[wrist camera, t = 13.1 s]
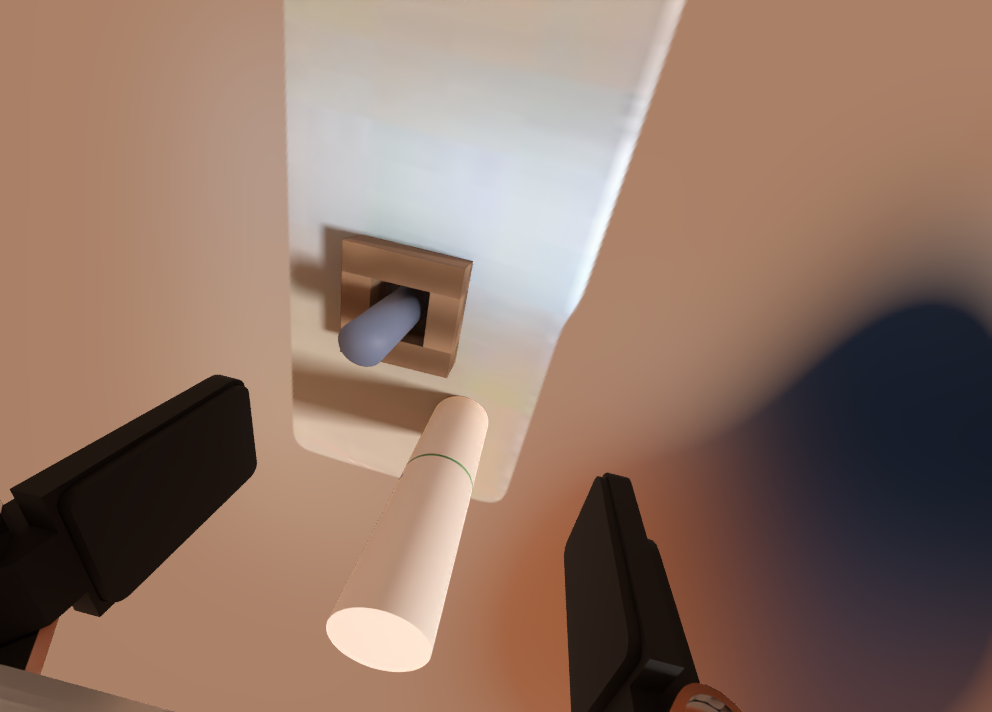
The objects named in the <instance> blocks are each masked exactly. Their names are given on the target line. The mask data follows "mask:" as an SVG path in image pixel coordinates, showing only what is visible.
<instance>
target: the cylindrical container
mask: <svg viewBox="0 0 992 712" xmlns="http://www.w3.org/2000/svg"><path fill="white" fill-rule="evenodd" d="M487 428H488V417H487V414H486V412H485V410H484V409H483V408H482V407H481V406H480V405H479V404H478V403H477V402H475V401H474V400H472V399H469V398H467V397H462V396H453V397H449V398H446V399H444V400H442V401H441V402H440V403H439V404H438V405H437V406H436V408H435V410H434V412H433V414H432V416H431V418H430V420H429V422H428V424H427V426H426V427H425V429H424V431H423V433H422V435H421V437H420V439H419V441H418V443H417V445H416V447H415V449H414V451H413V453H412V455H411V457H410V459H409V461H408V463H407V465H406V467H405V469H404V471H403V473H402V475H401V477H400V479H399V481H398V483H397V485H396V487H395V489H394V491H393V493H392V495H391V497H390V499H389V500H388V502H387V505H386V506H385V509H384V510H383V512H382V514H381V517H380V518H379V520H378V522H377V524H376V526H375V528H374V530H373V532H372V534H371V536H370V538H369V540H368V542H367V544H366V546H365V548H364V550H363V552H362V554H361V556H360V558H359V560H358V562H357V564H356V566H355V568H354V570H353V572H352V574H351V576H350V578H349V579H348V581H347V583H346V586H345V587H344V589H343V591H342V593H341V595H340V597H339V599H338V601H337V603H336V605H335V607H334V609H333V611H332V613H331V615H330V617H329V619H328V621H327V624H326V630H327V634H328V637H329V639H330V640H331V641H332V643H333V644H334V645H335V646H336V647H337V648H338V649H339V650H340V651H341V652H342V653H344V654H345V655H346V656H348V657H350V658H351V659H353V660H354V661H357V662H359V663H361V664H363V665H366V666H368V667H371V668H375V669H379V670H384V671H390V672H406V671H412V670H416V669H419V668H421V667H423V666H424V665H425V664H426V663H427V662H428V661H429V660H430V658H431V654H432V650H433V646H434V642H435V638H436V634H437V630H438V626H439V622H440V618H441V614H442V610H443V606H444V602H445V598H446V594H447V590H448V585H449V582H450V577H451V574H452V569H453V566H454V562H455V557H456V553H457V549H458V545H459V541H460V537H461V533H462V529H463V525H464V521H465V517H466V513H467V509H468V505H469V501H470V497H471V493H472V489H473V484H474V480H475V476H476V472H477V468H478V464H479V460H480V456H481V452H482V448H483V444H484V440H485V436H486V432H487Z"/></svg>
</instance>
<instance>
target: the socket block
mask: <svg viewBox="0 0 992 712" xmlns="http://www.w3.org/2000/svg"><path fill="white" fill-rule="evenodd" d="M472 265H473V261H469V260H465V259H460V258H456V257H452V256H448V255H444V254H440V253H435V252H431V251H427V250H423V249H419V248H415V247H410V246H406V245H402V244H398V243H394V242H389V241H385V240H381V239H377V238H373V237H369V236H364V235H359V236H355V237H351V238H347V239H343V240H342V282H341V329H342V328H343V326H345V325H346V324H347V323H349V322H350V321H352V320H353V319H355V318H356V317H358V316H359V315H360V314H362V313H363V312H365V311H366V310H368V309H369V308H370V307H372V306H373V305H375V304H376V303H378V302H379V301H381V300H382V299H383V298H385V294H386V282H390V283H394V284H398V285H402V286H406V287H410V288H414V289H419V290H423V291H427V292H430V298H429V306H428V314H427V321H426V329H425V331H423V330H419V329H415V328H412V329H411V330H410V331H409V332H408V333H407V334H406V335H405V336H404V337H403V338H402V339H401V340H400V341H399V342H398V344H397V345H396V346H395V347H394V348H393V349H392V350H391V351H390V352H389V353H388V354H387V355H386V356H385V357H384V358H383V360H382V361H381V362H384V363H388V364H392V365H396V366H400V367H404V368H408V369H412V370H416V371H420V372H424V373H428V374H432V375H436V376H440V377H444V378H447V377H448V375H449V373H450V371H451V369H452V367H453V365H454V363H455V360H456V354H457V349H458V343H459V338H460V332H461V326H462V321H463V315H464V310H465V304H466V298H467V293H468V287H469V281H470V276H471V270H472ZM340 352H342V351H341V349H340Z"/></svg>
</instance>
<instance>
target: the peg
mask: <svg viewBox="0 0 992 712" xmlns="http://www.w3.org/2000/svg"><path fill="white" fill-rule="evenodd" d="M428 306H429V302H428V298H427V296H426V294H425V292H424V291H423V290H419V289H414V288H410V287H406V286H401V287H399V288H398V289H396V290H395V291H394V292H392V293H391V294H389V295H388V296H386V297H385V298H383V299H382V300H381V301H379V302H378V303H376V304H375V305H373V306H372V307H370V308H369V309H368V310H366V311H365V312H363V313H362V314H360V315H359V316H358V317H356V318H355V319H353V320H352V321H350V322H349V323H347V324H346V325H345V326H343V328H342V329H341V330H340V333H339V336H338V342H339V346H340V349H341V351H342V353H343V354H344V355H345V357H346V358H347V359H349V360H350V361H351V362H353V363H355V364H357V365H359V366H364V367H370V366H374V365H376V364H378V363H380V362H381V361H382V360H383V358H384V357H385V356H386V355H387V354H388V353H389V352H390V351H391V350H392V349H393V348H394V347H395V346H396V345H397V344H398V342H399V341H400V340H401V339H402V338H403V337H404V336H405V335H406V334H407V333H408V332H409V331H410V330H411V329H412V328H413V327H414V325H415V324H416V323H417V322H418V321H419V320H420V319H421V318H422V317H423V316H424V315H425V314H426V312H427V310H428Z"/></svg>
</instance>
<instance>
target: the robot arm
mask: <svg viewBox="0 0 992 712" xmlns="http://www.w3.org/2000/svg"><path fill="white" fill-rule="evenodd" d="M256 466H257V460H256V451H255V443H254V435H253V425H252V417H251V408H250V399H249V391H248V389H247V388H246V387H245V386H244V383H243V382H242V381H241V380H238V379H234V378H230V377H227V376H223V375H213V376H211V377H209V378H207V379H205V380H204V381H202V382H200V383H198V384H196V385H195V386H193V387H191V388H189V389H188V390H186V391H184V392H182V393H180V394H179V395H177V396H176V397H173V398H171V399H170V400H168V401H166V402H164V403H163V404H161V405H159V406H157V407H155V408H154V409H152V410H150V411H148V412H147V413H145V414H143V415H141V416H139V417H138V418H136V419H134V420H132V421H130V422H129V423H127V424H125V425H123V426H121V427H120V428H118V429H116V430H114V431H113V432H111V433H109V434H107V435H105V436H104V437H102V438H100V439H98V440H96V441H95V442H93V443H91V444H89V445H88V446H86V447H84V448H82V449H80V450H79V451H77V452H75V453H73V454H72V455H70V456H68V457H66V458H64V459H63V460H61V461H59V462H57V463H56V464H54V465H52V466H50V467H48V468H46V469H45V470H43V471H41V472H39V473H38V474H36V475H34V476H32V477H30V478H29V479H27V480H25V481H23V482H22V483H20V484H18V485H16V486H14V487H13V488H11V489H10V491H11V493H12V494H13V496H14V498H15V499H13V500H11V501H10V502H8V503H6V504H4V505H3V504H2V502H1V500H0V712H174V711H170V710H167V709H163V708H159V707H156V706H152V705H148V704H145V703H141V702H138V701H134V700H130V699H126V698H123V697H119V696H116V695H112V694H108V693H104V692H101V691H97V690H93V689H89V688H86V687H82V686H79V685H75V684H71V683H67V682H64V681H60V680H57V679H53V678H49V677H46V676H42V675H40V674H41V671H42V668H43V665H44V661H45V659H46V656H47V653H48V650H49V647H50V644H51V641H52V637H53V635H54V631H55V629H56V625H57V622H58V619H59V617H60V616H61V615H62V614H63V613H64V612H65V611H67V610H68V609H69V608H70V607H71V606H73V607H74V610H76V611H79V612H83V613H87V614H90V615H94V616H98V617H100V616H102V615H103V614H104V613H105V612H106V611H107V610H108V609H109V608H110V607H111V606H112V605H113V604H114V603H115V602H119V601H122V600H123V599H125V598H126V597H128V596H129V595H130V594H131V593H132V592H133V591H134V590H135V589H136V588H137V587H138V586H139V585H140V584H142V582H144V581H145V580H146V579H147V578H148V577H149V576H150V575H151V574H152V573H153V572H154V571H155V570H156V569H157V568H158V567H159V566H160V565H161V564H162V563H163V562H164V561H165V560H166V559H167V558H168V557H169V556H170V555H171V554H172V553H173V552H174V551H175V550H176V549H177V548H178V547H179V546H180V545H181V544H183V543H184V541H186V539H188V538H189V537H190V536H191V535H192V534H193V533H194V532H195V531H196V530H197V529H198V528H199V527H200V526H201V525H202V524H203V523H204V522H205V521H206V520H207V519H208V518H209V517H210V516H211V515H212V514H213V513H214V512H215V511H216V510H217V509H218V508H219V507H220V506H222V505H223V503H225V502H226V501H227V500H228V499H229V498H230V497H231V496H232V495H233V494H234V493H235V492H236V491H237V490H238V489H239V488H240V487H241V486H242V485H243V484H244V483H245V482H246V481H247V480H248V479H249V478H250V477H251V476H252V475H253V473H254V471H255V469H256ZM564 566H565V567H564V568H565V587H566V588H565V589H566V610H567V632H568V652H569V673H570V696H571V712H742V711H741V710H740V708H739V707H738V706H737V705H736V704H735V703H734V702H733V701H732V700H730V699H729V698H728V697H727V696H726V695H724V694H723V693H722V692H720V691H718V690H717V689H715V688H713V687H711V686H709V685H706V684H700V682H699V679H698V676H697V672H696V669H695V666H694V662H693V659H692V656H691V653H690V649H689V646H688V643H687V640H686V637H685V633H684V630H683V627H682V624H681V621H680V617H679V614H678V611H677V608H676V604H675V601H674V598H673V595H672V591H671V588H670V585H669V582H668V579H667V575H666V572H665V569H664V566H663V562H662V559H661V556H660V553H659V550H658V548H657V545H656V544H655V543H654V542H653V540H650V539H647V536H646V532H645V529H644V526H643V522H642V518H641V515H640V511H639V508H638V504H637V501H636V498H635V494H634V491H633V487H632V484H631V481H630V479H629V478H627V477H623V476H619V475H615V474H611V473H605V474H604V475H603V477H599V476H597V477H596V478H595V480H594V482H593V485H592V487H591V489H590V491H589V494H588V496H587V498H586V500H585V503H584V505H583V507H582V509H581V511H580V514H579V516H578V518H577V520H576V523H575V525H574V527H573V529H572V532H571V534H570V536H569V538H568V541H567V543H566V547H565V552H564Z"/></svg>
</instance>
